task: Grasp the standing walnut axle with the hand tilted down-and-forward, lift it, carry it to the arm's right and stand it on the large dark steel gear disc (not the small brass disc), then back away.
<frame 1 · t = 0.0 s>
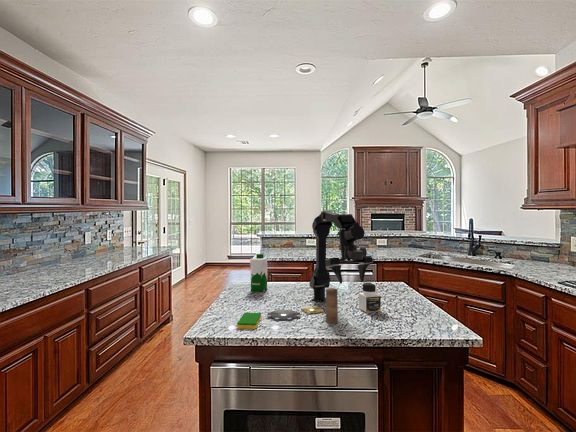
hand: (351, 282, 133), 15 cm above the countertop, tool pointing down, fingers open, 9 cm apart
medicine bottle: (369, 310, 149), on the countertop
walnut axle: (331, 321, 133), on the countertop
milk carton: (258, 290, 188), on the countertop
steel gear disc: (283, 315, 141), on the countertop
dish sponge: (249, 324, 133), on the countertop
brass gear disc: (312, 310, 148), on the countertop
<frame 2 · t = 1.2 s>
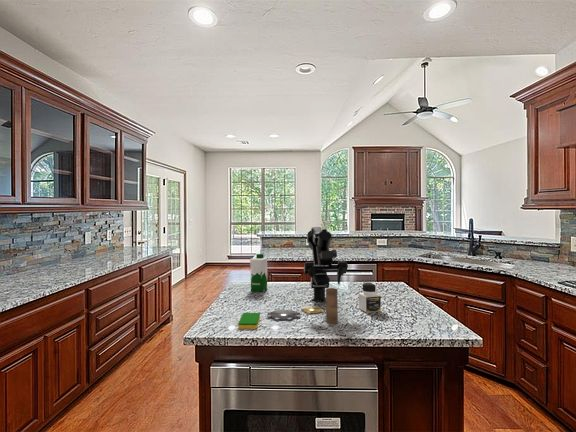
hand: (328, 284, 140), 13 cm above the countertop, tool tilted 45°, fingers open, 9 cm apart
nothing on the countertop moved.
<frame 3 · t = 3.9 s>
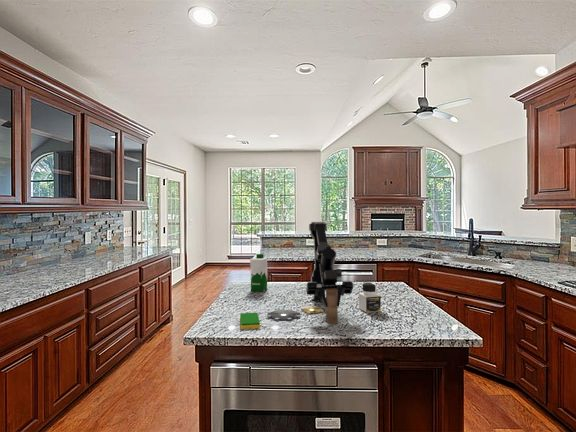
hand: (332, 306, 131), 7 cm above the countertop, tool tilted 45°, fingers closed on walnut axle, 4 cm apart
walnut axle: (331, 321, 133), on the countertop, touching gripper
when the fingers open (8 cm above the countertop, at t = 8.7 s): walnut axle stays where it is, resting on steel gear disc.
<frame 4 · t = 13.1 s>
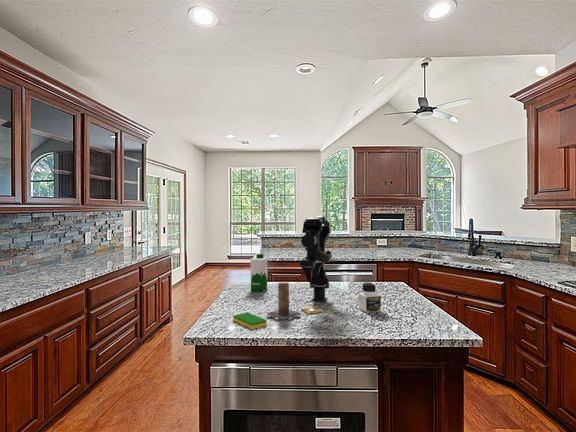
hand: (313, 279, 152), 13 cm above the countertop, tool pointing down, fingers open, 9 cm apart
walnut axle: (283, 313, 141), point 1 cm above the countertop, touching steel gear disc
at the end: walnut axle inside the target area on the steel gear disc (0.0 cm from its centre), point 0.8 cm above the steel gear disc's base; walnut axle tilted 0°; the gripper is holding nothing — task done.
